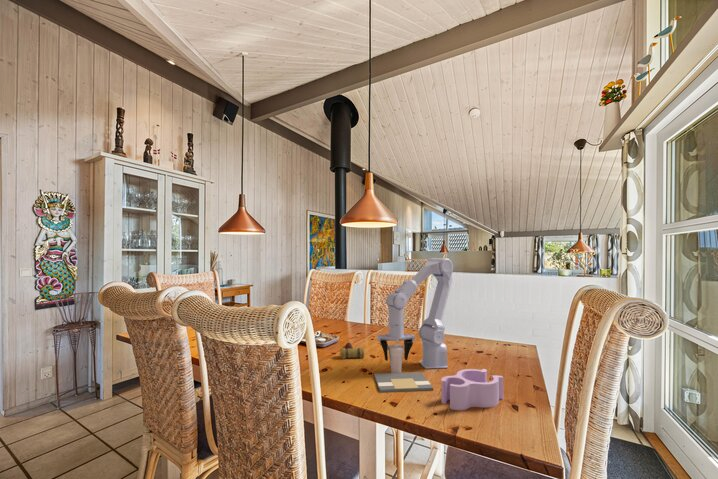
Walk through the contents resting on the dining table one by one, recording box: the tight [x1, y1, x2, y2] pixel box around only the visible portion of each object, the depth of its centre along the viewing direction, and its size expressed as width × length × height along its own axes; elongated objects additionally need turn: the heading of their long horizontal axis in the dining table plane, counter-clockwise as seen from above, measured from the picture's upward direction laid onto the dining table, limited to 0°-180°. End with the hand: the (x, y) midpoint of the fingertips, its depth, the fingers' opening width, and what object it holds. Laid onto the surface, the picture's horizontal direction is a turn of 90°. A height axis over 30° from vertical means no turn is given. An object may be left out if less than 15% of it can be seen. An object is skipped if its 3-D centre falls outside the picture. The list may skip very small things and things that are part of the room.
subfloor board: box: [373, 371, 434, 393], centre depth 112 cm, size 18×14×1 cm
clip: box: [440, 368, 504, 411], centre depth 100 cm, size 20×12×7 cm, turn 115°
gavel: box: [339, 342, 365, 360], centre depth 147 cm, size 21×5×10 cm
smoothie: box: [388, 340, 404, 373], centre depth 122 cm, size 6×6×14 cm
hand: (396, 359), depth 122 cm, fingers open, 7 cm apart
